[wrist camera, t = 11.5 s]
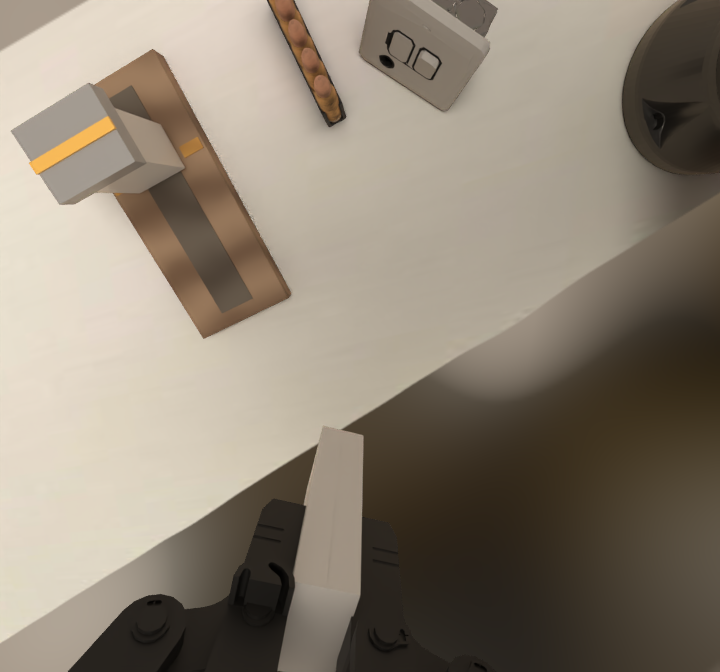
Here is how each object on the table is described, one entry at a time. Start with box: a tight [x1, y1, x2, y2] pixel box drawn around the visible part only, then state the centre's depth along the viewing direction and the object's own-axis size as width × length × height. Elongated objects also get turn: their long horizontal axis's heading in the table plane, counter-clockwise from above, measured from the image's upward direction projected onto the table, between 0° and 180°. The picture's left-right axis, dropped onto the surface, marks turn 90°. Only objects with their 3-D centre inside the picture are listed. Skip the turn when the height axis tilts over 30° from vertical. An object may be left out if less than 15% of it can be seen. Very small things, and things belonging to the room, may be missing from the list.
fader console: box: [95, 49, 291, 339], centre depth 41 cm, size 24×10×2 cm, turn 26°
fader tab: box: [11, 83, 185, 205], centre depth 34 cm, size 5×6×11 cm
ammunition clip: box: [267, 0, 346, 127], centre depth 33 cm, size 11×2×12 cm, turn 27°
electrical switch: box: [359, 0, 498, 110], centre depth 34 cm, size 9×5×9 cm, turn 60°
